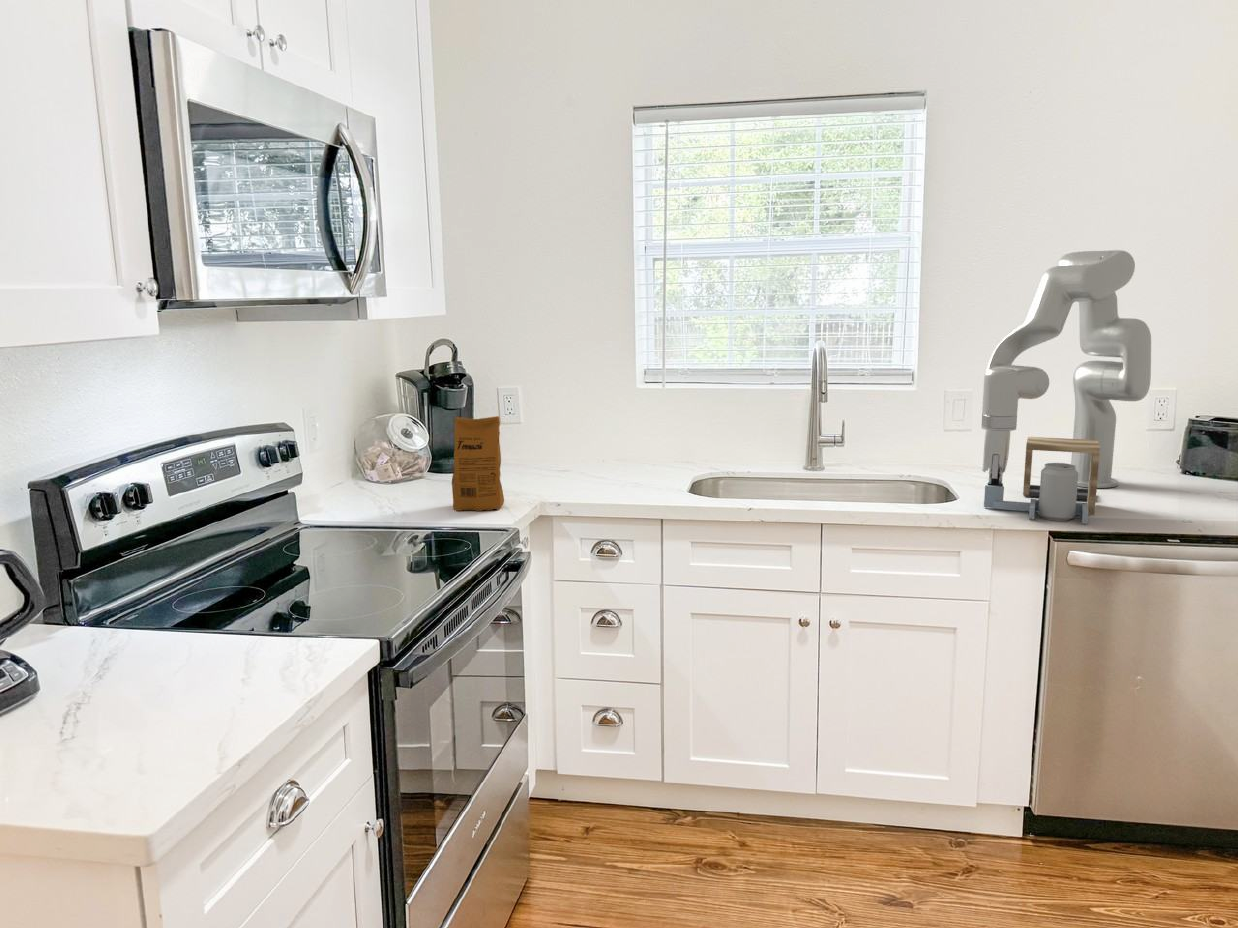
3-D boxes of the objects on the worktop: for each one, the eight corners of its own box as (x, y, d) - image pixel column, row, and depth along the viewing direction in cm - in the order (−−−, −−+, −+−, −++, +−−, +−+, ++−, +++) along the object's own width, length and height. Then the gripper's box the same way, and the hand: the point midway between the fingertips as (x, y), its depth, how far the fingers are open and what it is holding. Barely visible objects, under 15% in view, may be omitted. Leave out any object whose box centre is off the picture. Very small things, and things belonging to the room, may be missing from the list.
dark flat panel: (1025, 489, 236) (1025, 484, 235) (1091, 494, 229) (1092, 489, 229) (1023, 496, 228) (1024, 491, 228) (1092, 501, 222) (1093, 495, 222)
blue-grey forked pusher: (984, 506, 218) (985, 484, 217) (1086, 513, 209) (1087, 492, 208) (981, 514, 209) (982, 493, 208) (1087, 523, 201) (1089, 500, 200)
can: (1078, 522, 203) (1082, 468, 200) (1040, 520, 205) (1044, 467, 202) (1071, 514, 210) (1075, 462, 208) (1035, 512, 212) (1039, 460, 210)
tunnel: (1023, 498, 226) (1028, 436, 223) (1092, 504, 220) (1097, 440, 217) (1022, 509, 215) (1026, 444, 212) (1094, 515, 209) (1099, 448, 206)
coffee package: (456, 502, 230) (452, 414, 226) (506, 502, 230) (503, 413, 226) (448, 512, 220) (444, 419, 216) (501, 511, 220) (498, 419, 216)
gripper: (984, 417, 224) (979, 492, 227) (979, 426, 211) (974, 505, 214) (1018, 419, 221) (1013, 494, 224) (1015, 427, 208) (1010, 508, 211)
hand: (994, 499), depth 219 cm, fingers closed
